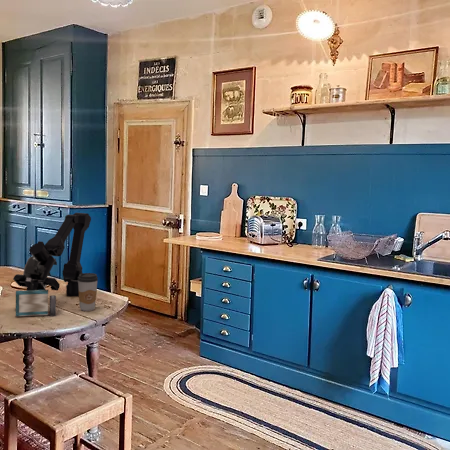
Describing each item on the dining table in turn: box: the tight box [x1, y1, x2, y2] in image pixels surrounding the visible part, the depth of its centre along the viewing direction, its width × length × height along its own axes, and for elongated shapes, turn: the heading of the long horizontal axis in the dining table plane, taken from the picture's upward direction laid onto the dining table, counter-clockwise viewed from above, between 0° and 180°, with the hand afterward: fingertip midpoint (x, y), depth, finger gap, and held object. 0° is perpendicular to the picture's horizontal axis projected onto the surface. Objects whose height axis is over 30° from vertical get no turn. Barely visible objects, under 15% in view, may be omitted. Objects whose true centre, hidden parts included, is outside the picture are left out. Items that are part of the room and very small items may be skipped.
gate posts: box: [49, 294, 57, 317], centre depth 194 cm, size 18×2×8 cm, turn 76°
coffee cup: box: [78, 272, 99, 312], centre depth 202 cm, size 8×8×15 cm
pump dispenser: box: [22, 255, 39, 278], centre depth 236 cm, size 10×10×15 cm
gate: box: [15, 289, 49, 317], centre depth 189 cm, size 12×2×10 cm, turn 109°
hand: (27, 300), depth 190 cm, fingers closed
